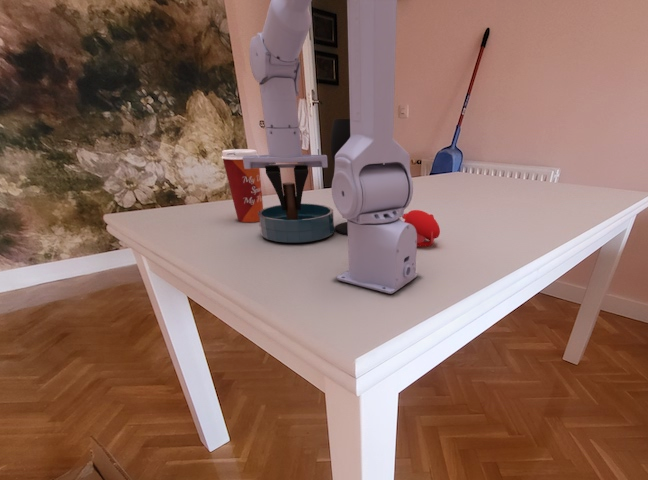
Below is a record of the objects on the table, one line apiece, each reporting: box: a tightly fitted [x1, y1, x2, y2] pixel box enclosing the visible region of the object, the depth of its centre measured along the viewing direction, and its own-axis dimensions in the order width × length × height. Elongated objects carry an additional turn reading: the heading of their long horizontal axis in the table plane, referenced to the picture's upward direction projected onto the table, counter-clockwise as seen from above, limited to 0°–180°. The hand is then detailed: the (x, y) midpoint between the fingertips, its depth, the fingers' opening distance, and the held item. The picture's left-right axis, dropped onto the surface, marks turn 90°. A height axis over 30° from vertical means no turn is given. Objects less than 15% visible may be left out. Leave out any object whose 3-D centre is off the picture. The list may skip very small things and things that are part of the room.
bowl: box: [258, 202, 335, 244], centre depth 75 cm, size 14×14×4 cm
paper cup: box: [220, 148, 264, 223], centre depth 82 cm, size 8×8×14 cm
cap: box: [401, 209, 441, 248], centre depth 70 cm, size 8×6×6 cm
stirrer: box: [282, 181, 299, 220], centre depth 72 cm, size 4×4×9 cm
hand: (291, 209), depth 72 cm, fingers closed on stirrer, 2 cm apart
